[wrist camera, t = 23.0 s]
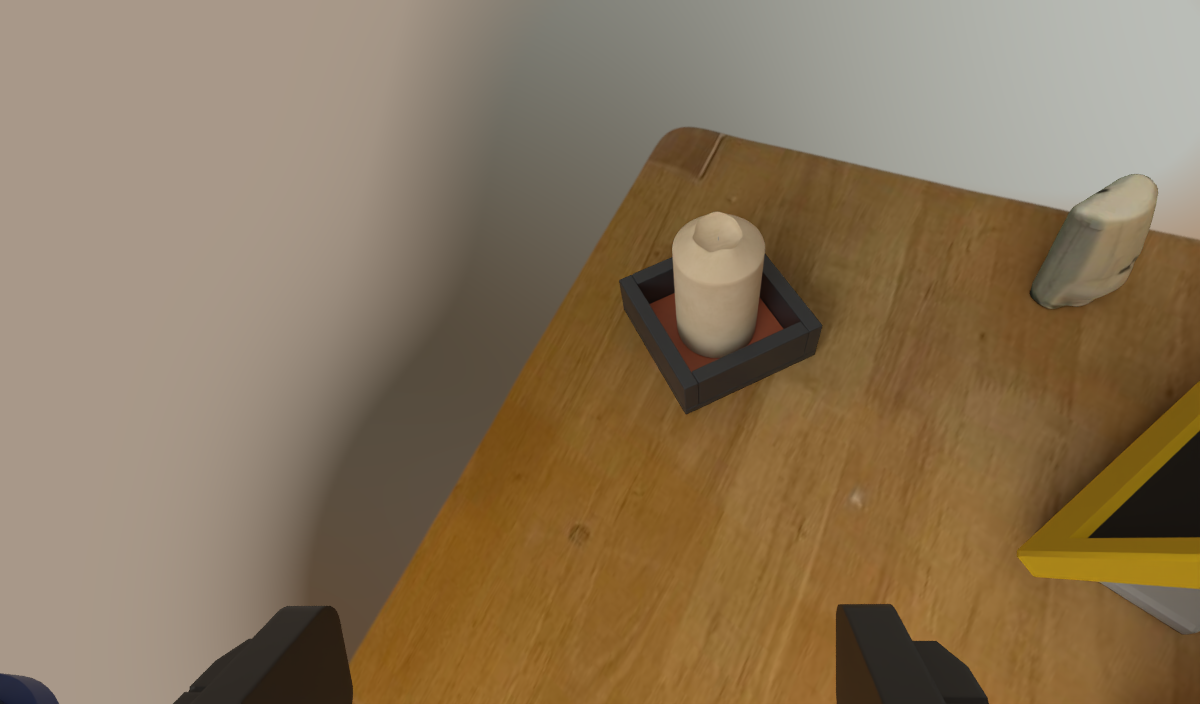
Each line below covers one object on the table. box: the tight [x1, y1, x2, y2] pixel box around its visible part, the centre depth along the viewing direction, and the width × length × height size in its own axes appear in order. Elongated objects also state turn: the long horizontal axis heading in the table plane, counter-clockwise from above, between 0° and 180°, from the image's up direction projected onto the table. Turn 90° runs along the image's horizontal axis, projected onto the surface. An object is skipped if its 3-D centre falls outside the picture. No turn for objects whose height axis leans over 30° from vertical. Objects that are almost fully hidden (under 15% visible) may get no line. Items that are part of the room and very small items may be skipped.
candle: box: [672, 212, 765, 358], centre depth 42 cm, size 6×6×10 cm
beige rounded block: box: [1030, 174, 1158, 309], centre depth 42 cm, size 6×5×8 cm
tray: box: [619, 254, 822, 414], centre depth 45 cm, size 10×10×4 cm
